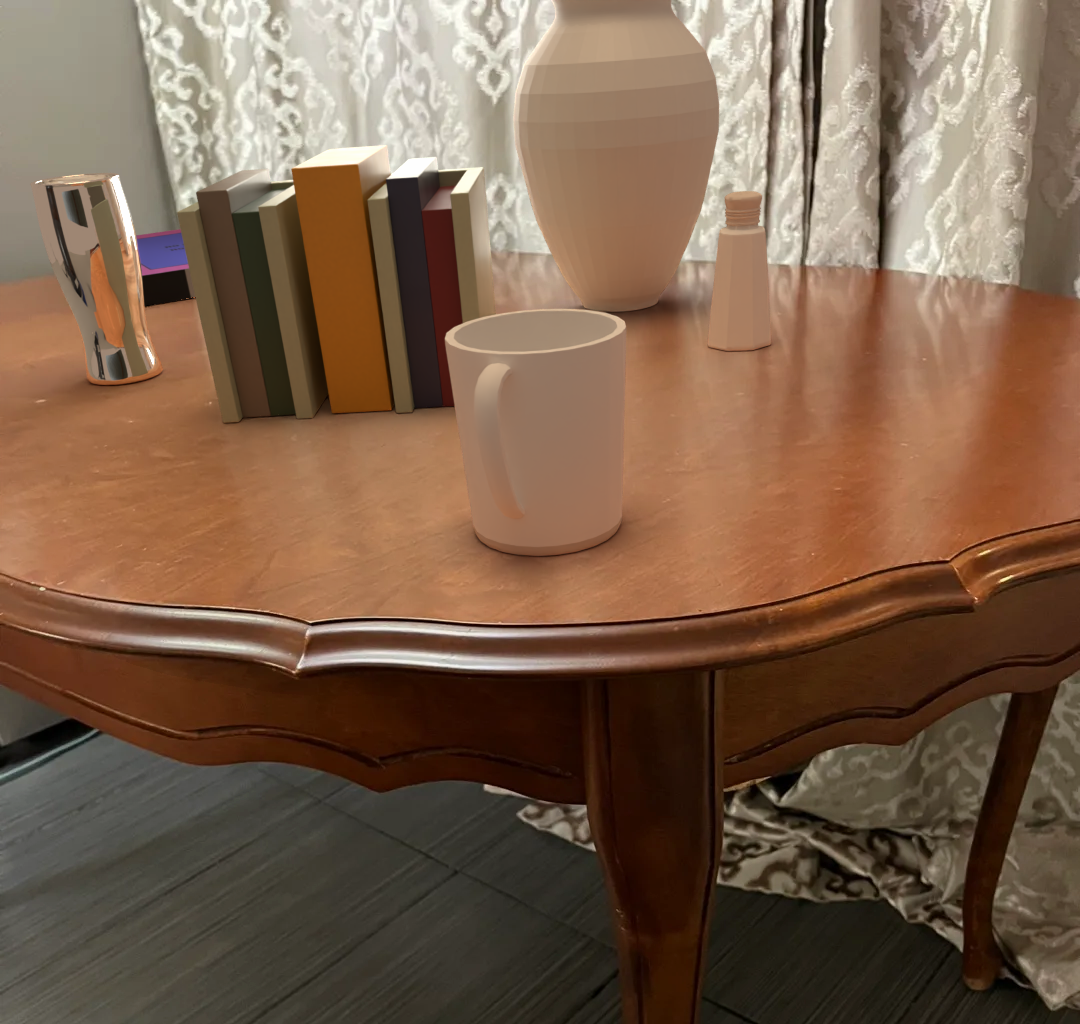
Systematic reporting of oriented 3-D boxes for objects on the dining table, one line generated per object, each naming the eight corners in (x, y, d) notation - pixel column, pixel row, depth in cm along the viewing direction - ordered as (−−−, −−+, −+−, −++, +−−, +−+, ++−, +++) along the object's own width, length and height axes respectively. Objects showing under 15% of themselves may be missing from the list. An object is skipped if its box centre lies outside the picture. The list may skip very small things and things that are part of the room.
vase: (493, 321, 101) (465, -5, 88) (572, 280, 115) (558, -9, 101) (678, 330, 94) (678, -24, 81) (740, 285, 108) (749, -25, 94)
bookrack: (222, 423, 80) (172, 195, 72) (268, 370, 92) (229, 169, 84) (487, 408, 79) (467, 175, 71) (499, 356, 91) (482, 151, 83)
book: (132, 277, 116) (80, 243, 138) (139, 307, 117) (87, 268, 140) (322, 247, 124) (244, 220, 146) (327, 276, 126) (249, 244, 148)
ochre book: (331, 413, 80) (290, 168, 72) (361, 368, 91) (328, 149, 82) (391, 410, 80) (357, 163, 72) (414, 365, 90) (387, 144, 82)
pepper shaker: (720, 332, 93) (723, 187, 87) (782, 336, 90) (790, 187, 85) (694, 349, 89) (695, 198, 83) (759, 353, 87) (765, 199, 81)
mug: (506, 489, 65) (490, 306, 60) (652, 502, 62) (650, 310, 57) (418, 566, 57) (391, 361, 51) (582, 586, 54) (571, 370, 48)
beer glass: (110, 364, 97) (59, 174, 89) (183, 363, 96) (138, 170, 88) (66, 387, 91) (8, 186, 83) (142, 387, 90) (91, 182, 82)
